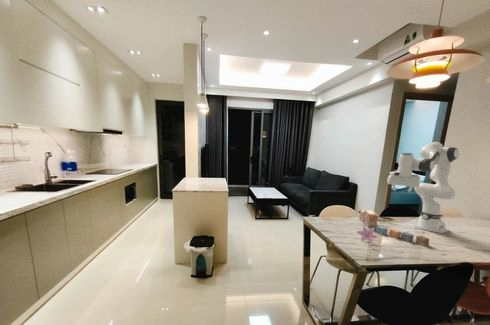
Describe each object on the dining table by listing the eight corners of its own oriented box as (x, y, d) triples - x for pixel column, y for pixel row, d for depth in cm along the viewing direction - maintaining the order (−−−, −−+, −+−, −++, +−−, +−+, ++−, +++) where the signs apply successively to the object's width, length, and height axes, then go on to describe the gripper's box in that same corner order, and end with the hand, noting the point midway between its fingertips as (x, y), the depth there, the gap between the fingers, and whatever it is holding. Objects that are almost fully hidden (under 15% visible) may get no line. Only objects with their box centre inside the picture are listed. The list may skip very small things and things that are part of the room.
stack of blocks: (359, 219, 188) (360, 206, 187) (366, 219, 187) (367, 207, 186) (368, 228, 167) (369, 214, 166) (376, 229, 166) (377, 215, 165)
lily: (353, 238, 150) (354, 229, 145) (364, 230, 153) (366, 222, 148) (368, 250, 140) (370, 241, 135) (379, 242, 143) (382, 233, 138)
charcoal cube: (405, 238, 151) (406, 231, 151) (412, 241, 146) (413, 234, 146) (400, 238, 150) (401, 232, 149) (407, 241, 145) (408, 235, 144)
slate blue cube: (381, 231, 161) (381, 225, 161) (386, 234, 156) (387, 228, 156) (376, 232, 160) (376, 226, 159) (381, 234, 155) (382, 228, 155)
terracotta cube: (394, 235, 156) (394, 228, 155) (400, 238, 151) (401, 231, 150) (389, 235, 154) (389, 229, 154) (395, 238, 150) (396, 232, 149)
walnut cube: (420, 242, 146) (421, 235, 145) (428, 245, 141) (429, 238, 140) (415, 242, 144) (416, 236, 144) (423, 246, 139) (424, 239, 139)
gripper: (418, 174, 153) (415, 192, 154) (387, 172, 159) (385, 188, 160) (422, 175, 147) (420, 193, 148) (390, 172, 153) (388, 190, 154)
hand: (401, 191), depth 154 cm, fingers open, 8 cm apart
